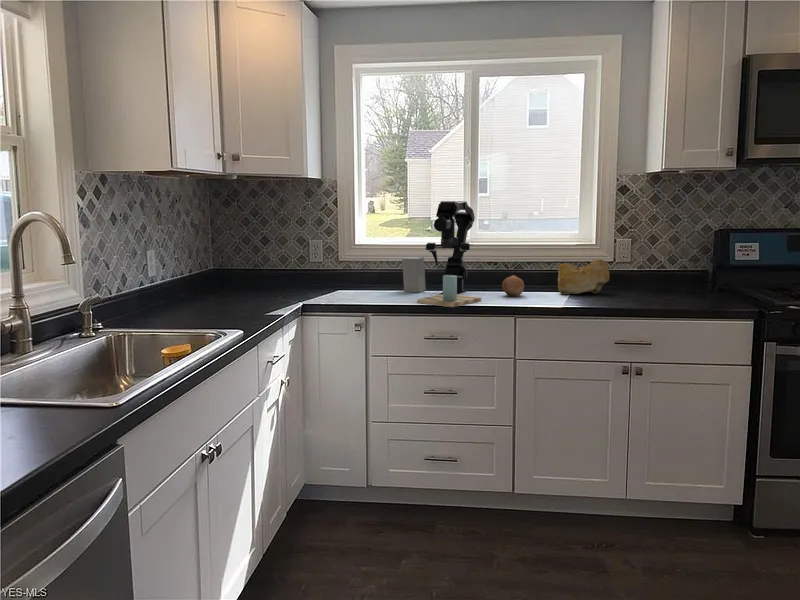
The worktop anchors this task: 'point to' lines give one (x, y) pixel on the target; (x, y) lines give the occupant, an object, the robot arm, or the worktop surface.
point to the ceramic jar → (449, 288)
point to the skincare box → (413, 274)
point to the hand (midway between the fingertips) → (447, 266)
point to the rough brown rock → (582, 277)
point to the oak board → (439, 301)
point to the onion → (513, 286)
